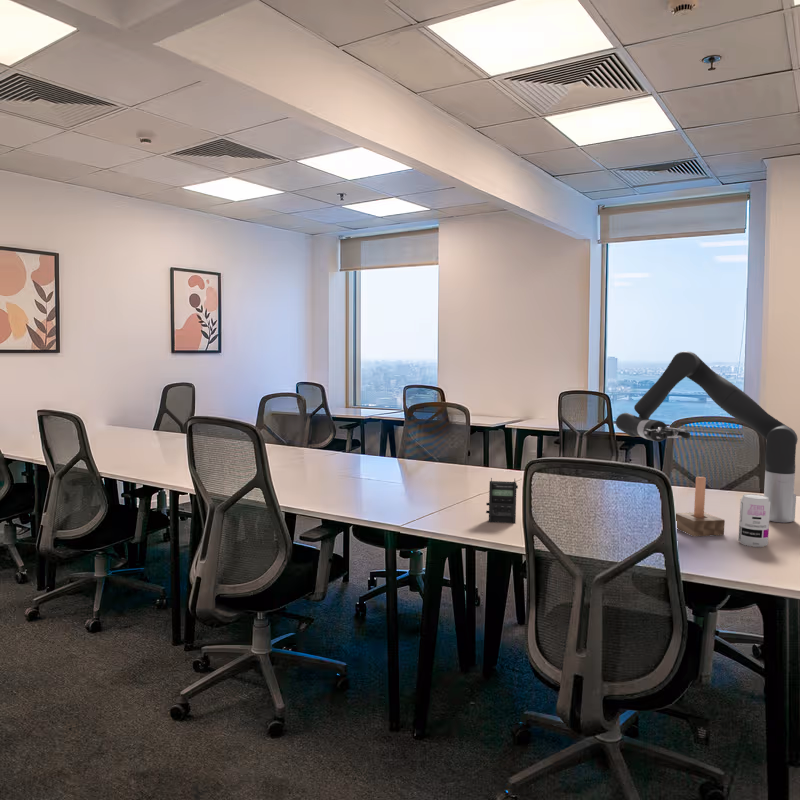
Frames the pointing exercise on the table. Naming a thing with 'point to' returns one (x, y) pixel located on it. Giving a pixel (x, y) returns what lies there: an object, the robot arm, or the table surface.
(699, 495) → the peg
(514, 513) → the geiger counter
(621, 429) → the robot arm
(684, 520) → the socket block
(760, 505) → the supplement can
